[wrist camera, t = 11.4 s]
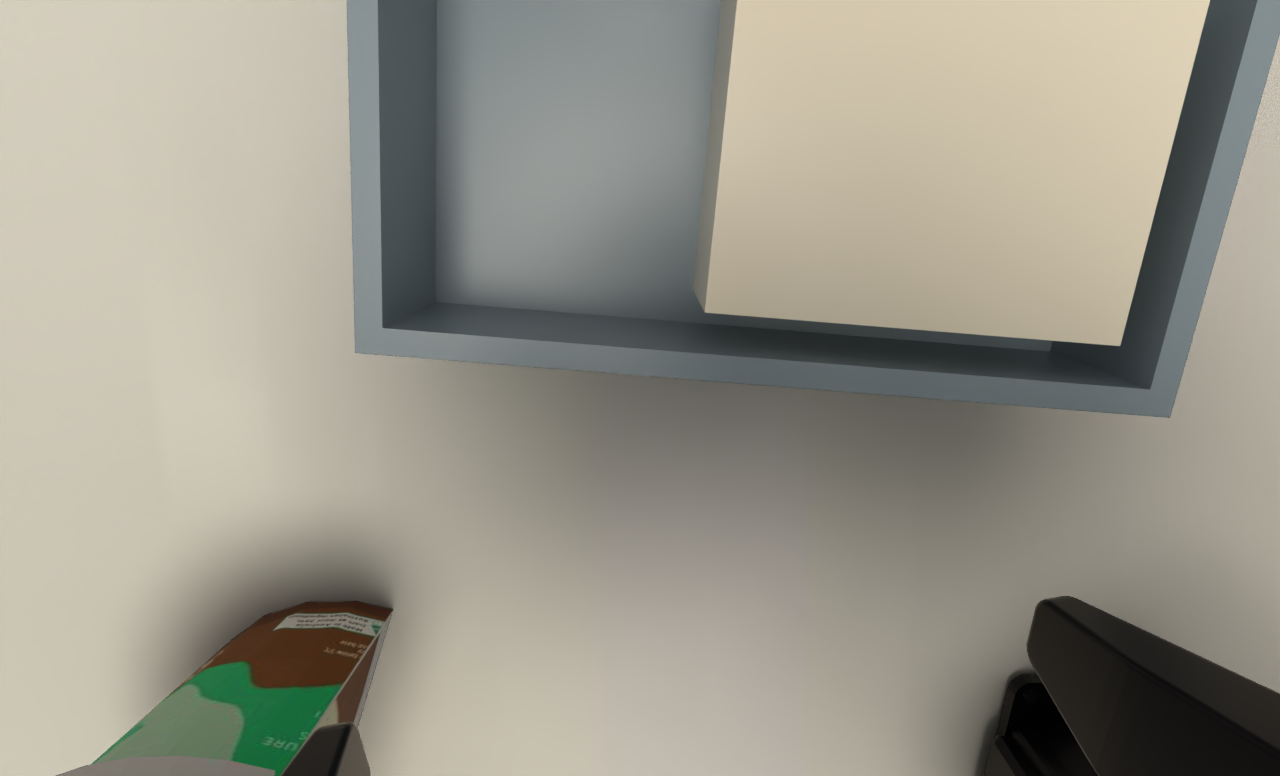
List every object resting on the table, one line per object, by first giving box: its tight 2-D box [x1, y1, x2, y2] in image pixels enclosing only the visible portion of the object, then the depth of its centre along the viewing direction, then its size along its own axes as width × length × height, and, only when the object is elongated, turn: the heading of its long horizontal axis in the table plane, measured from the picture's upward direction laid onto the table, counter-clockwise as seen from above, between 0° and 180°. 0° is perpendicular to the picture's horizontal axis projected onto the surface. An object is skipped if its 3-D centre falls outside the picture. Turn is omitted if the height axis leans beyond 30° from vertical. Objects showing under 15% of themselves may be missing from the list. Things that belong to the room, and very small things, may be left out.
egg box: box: [693, 0, 1210, 346], centre depth 16 cm, size 9×7×4 cm
